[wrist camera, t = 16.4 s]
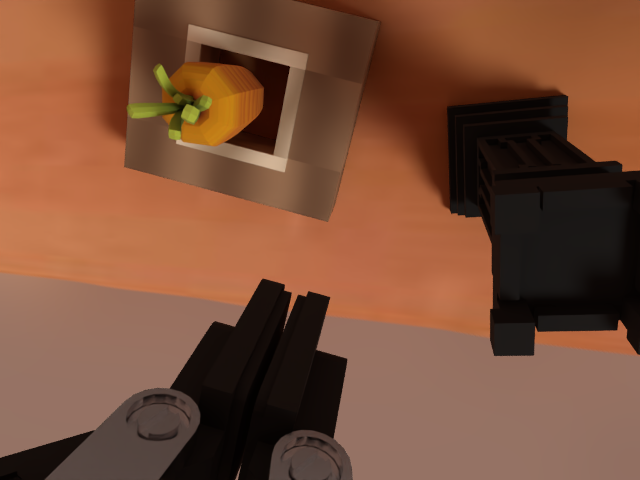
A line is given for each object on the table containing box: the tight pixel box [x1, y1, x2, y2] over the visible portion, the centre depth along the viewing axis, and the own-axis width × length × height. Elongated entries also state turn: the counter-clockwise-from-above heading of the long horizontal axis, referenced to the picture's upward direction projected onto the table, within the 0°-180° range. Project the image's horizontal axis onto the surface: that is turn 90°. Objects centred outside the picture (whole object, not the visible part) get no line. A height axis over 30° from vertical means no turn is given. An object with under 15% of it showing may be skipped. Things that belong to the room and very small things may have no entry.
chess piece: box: [447, 95, 640, 356], centre depth 29 cm, size 8×8×20 cm
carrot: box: [127, 62, 264, 147], centre depth 32 cm, size 5×5×15 cm
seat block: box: [124, 0, 381, 222], centre depth 37 cm, size 16×14×4 cm
